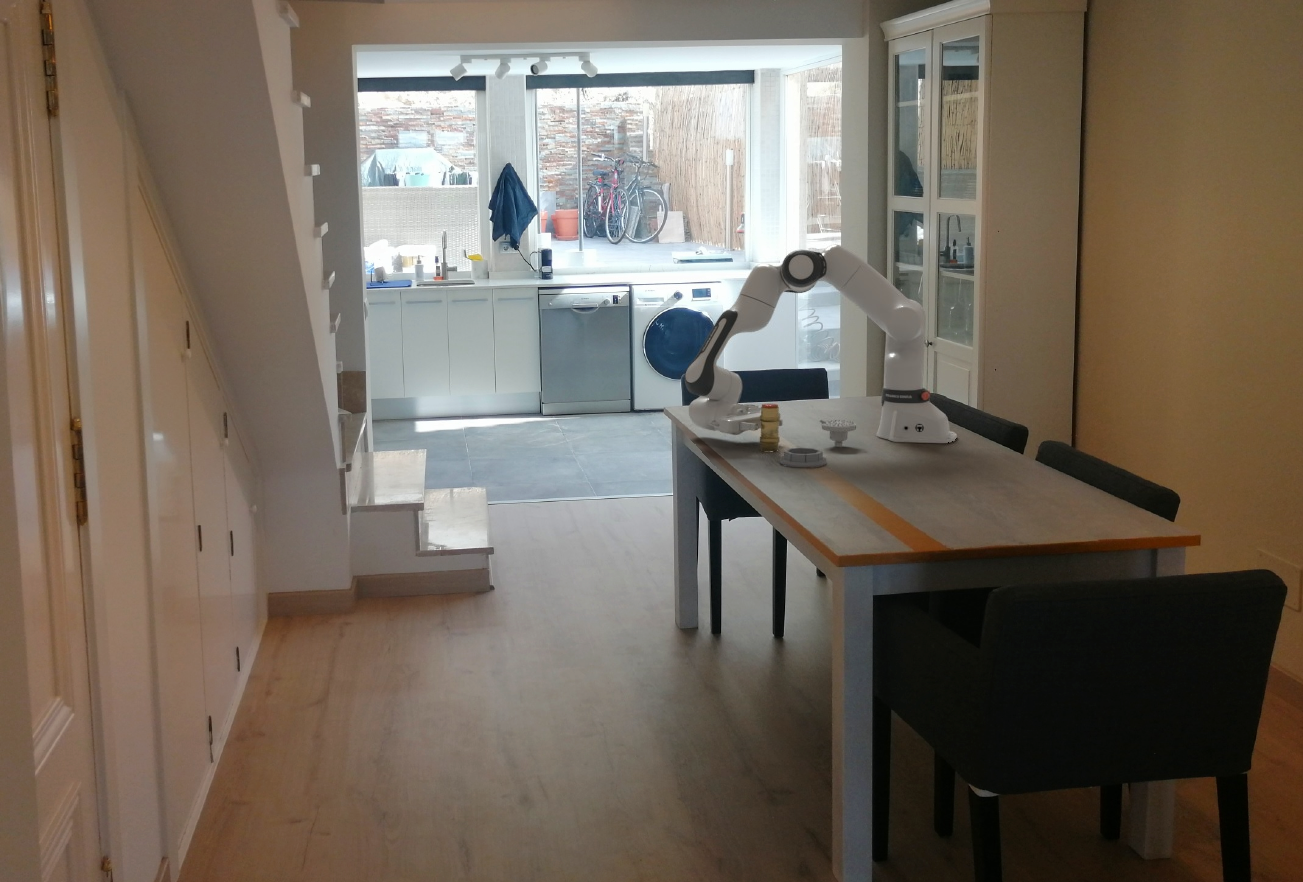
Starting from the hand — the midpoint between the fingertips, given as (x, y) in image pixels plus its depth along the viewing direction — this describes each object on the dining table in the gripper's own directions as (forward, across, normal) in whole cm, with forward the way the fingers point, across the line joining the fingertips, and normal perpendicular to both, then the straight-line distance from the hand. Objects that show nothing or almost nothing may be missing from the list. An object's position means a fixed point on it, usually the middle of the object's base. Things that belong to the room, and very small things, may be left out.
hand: (768, 425), depth 343 cm
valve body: (0, 0, +7) cm, 7 cm away
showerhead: (+9, +18, +7) cm, 21 cm away
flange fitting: (+18, -6, +7) cm, 20 cm away
